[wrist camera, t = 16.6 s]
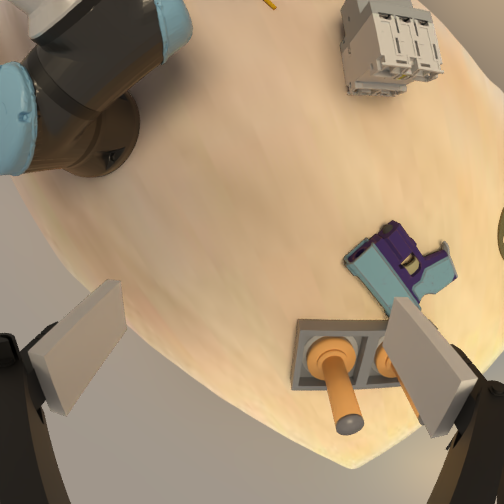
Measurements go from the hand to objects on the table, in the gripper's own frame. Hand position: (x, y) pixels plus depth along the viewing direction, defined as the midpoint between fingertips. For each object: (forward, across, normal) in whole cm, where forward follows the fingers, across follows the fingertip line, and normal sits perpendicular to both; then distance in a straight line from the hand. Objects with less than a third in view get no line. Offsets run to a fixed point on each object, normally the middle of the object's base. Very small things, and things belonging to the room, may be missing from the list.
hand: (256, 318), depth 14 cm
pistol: (+32, +23, -7) cm, 40 cm away
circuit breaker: (+32, +14, +25) cm, 43 cm away
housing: (+31, +19, -23) cm, 43 cm away
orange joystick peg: (+30, +13, -23) cm, 40 cm away
